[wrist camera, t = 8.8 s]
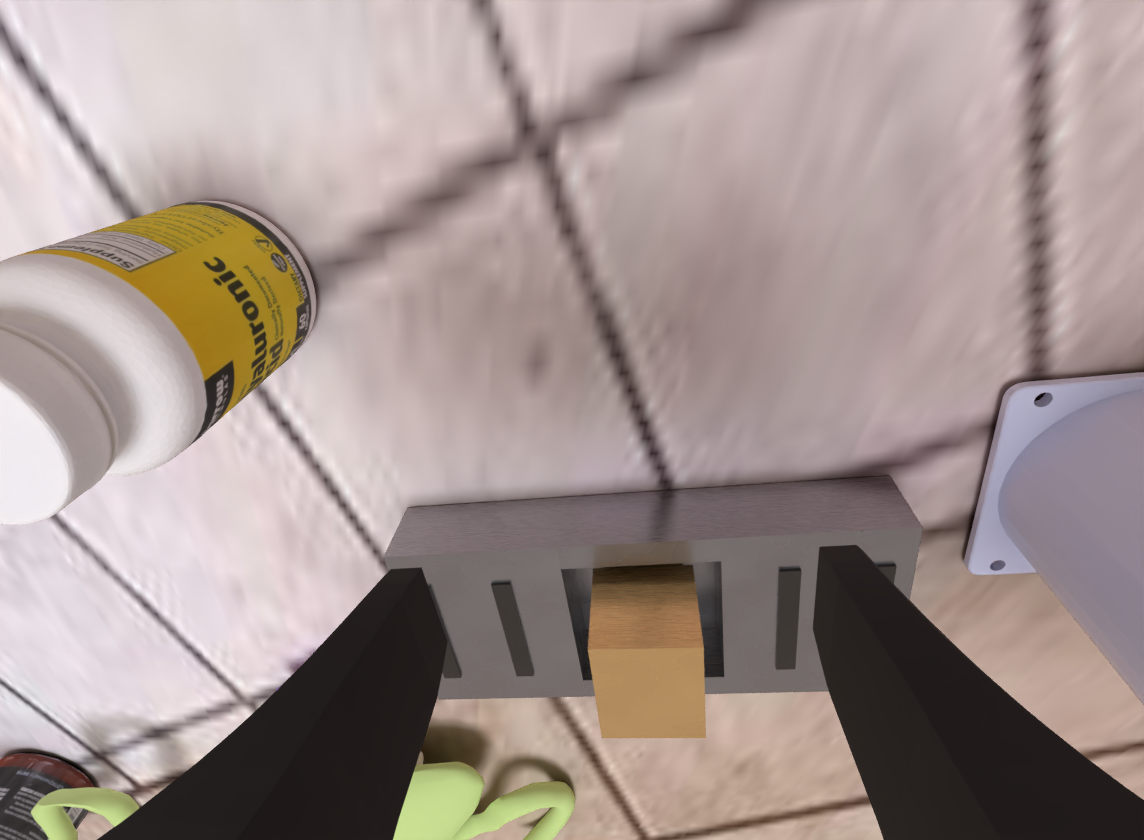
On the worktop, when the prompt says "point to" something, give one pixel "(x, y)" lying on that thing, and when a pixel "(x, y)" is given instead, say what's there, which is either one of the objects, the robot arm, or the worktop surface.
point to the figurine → (426, 823)
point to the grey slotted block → (645, 537)
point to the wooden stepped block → (647, 652)
